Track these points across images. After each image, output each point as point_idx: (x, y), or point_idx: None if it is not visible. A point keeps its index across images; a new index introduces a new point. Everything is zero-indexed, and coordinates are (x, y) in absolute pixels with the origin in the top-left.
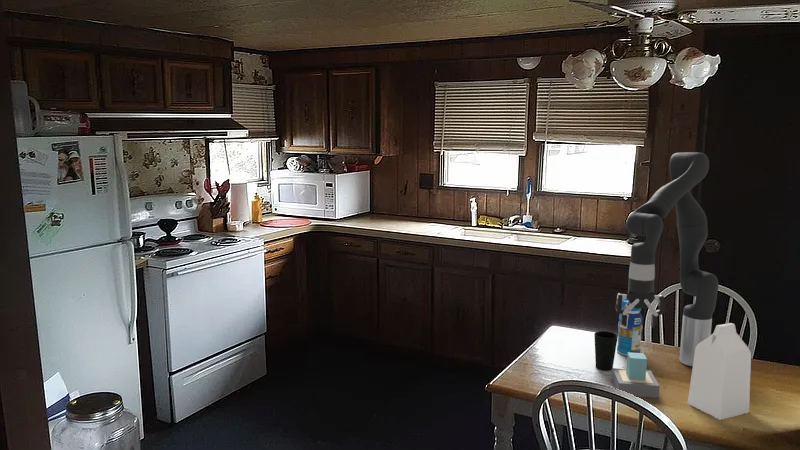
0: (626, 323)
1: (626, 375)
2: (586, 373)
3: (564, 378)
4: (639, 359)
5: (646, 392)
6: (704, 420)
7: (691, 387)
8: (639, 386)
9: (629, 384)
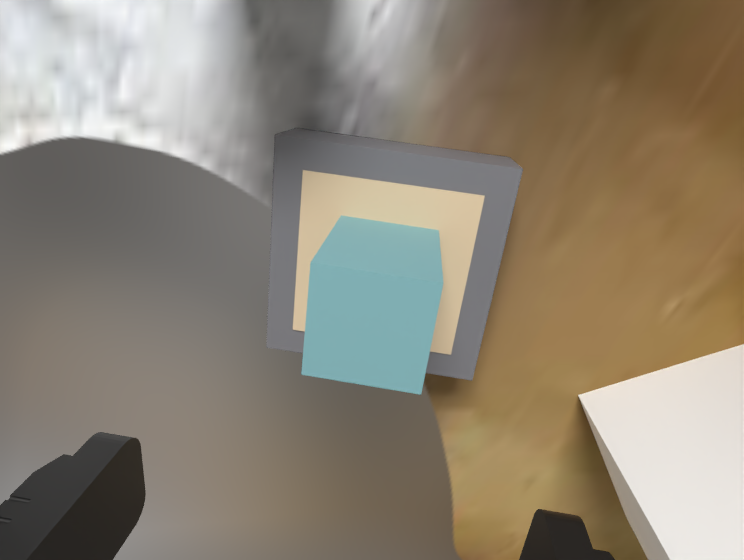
0: (113, 553)
1: None
2: (160, 33)
3: (39, 120)
4: (368, 382)
5: None
6: None
7: (614, 462)
8: None
9: None
